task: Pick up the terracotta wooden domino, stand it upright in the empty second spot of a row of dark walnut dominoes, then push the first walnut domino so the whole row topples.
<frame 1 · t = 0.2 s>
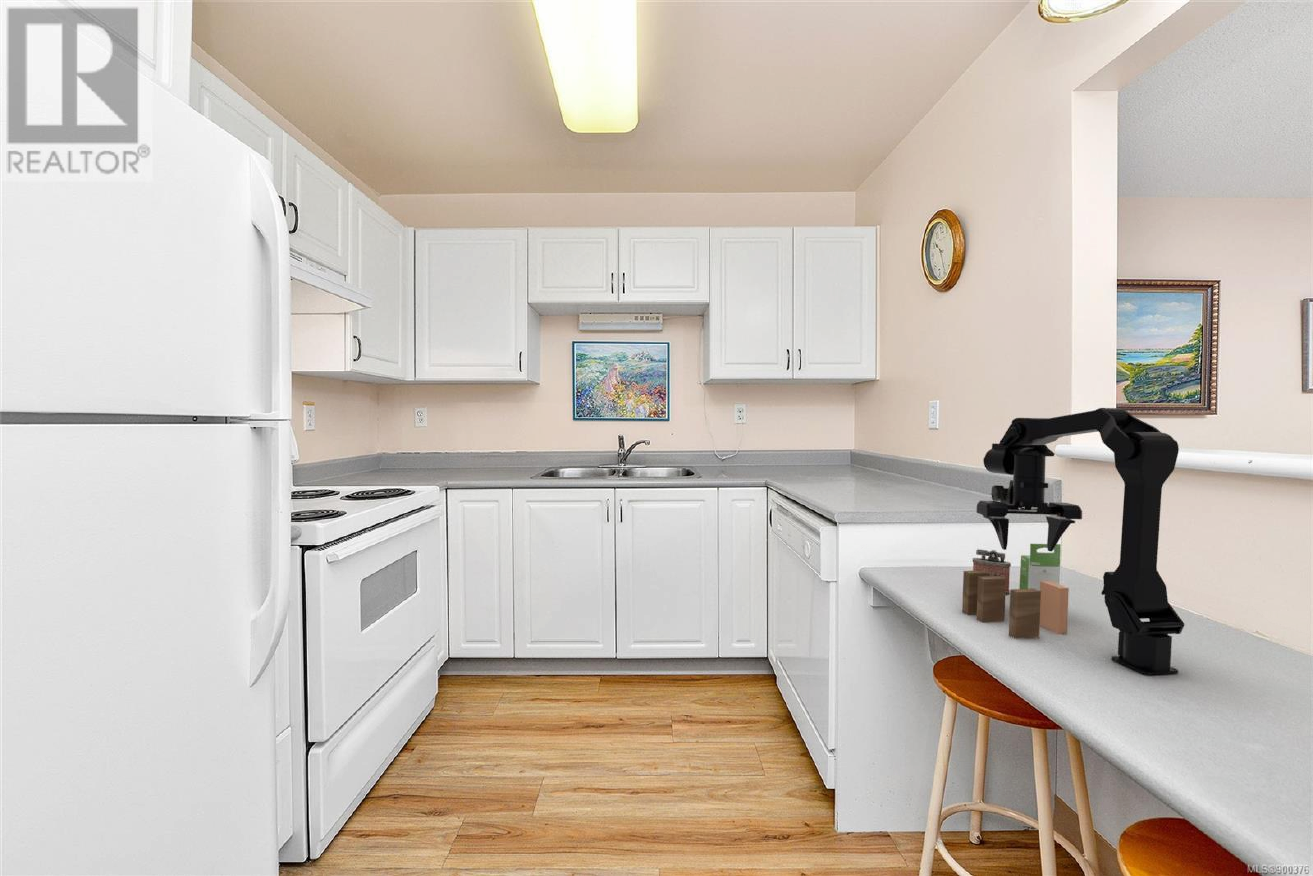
hand: (1026, 550, 126), 14 cm above the counter, tool pointing down, fingers open, 9 cm apart
domino 2: (1052, 629, 118), on the counter
ink box: (1038, 600, 138), on the counter
lighter: (990, 592, 144), on the counter
domino 3: (990, 620, 123), on the counter
domino 1: (1023, 636, 114), on the counter
domino 4: (975, 613, 127), on the counter
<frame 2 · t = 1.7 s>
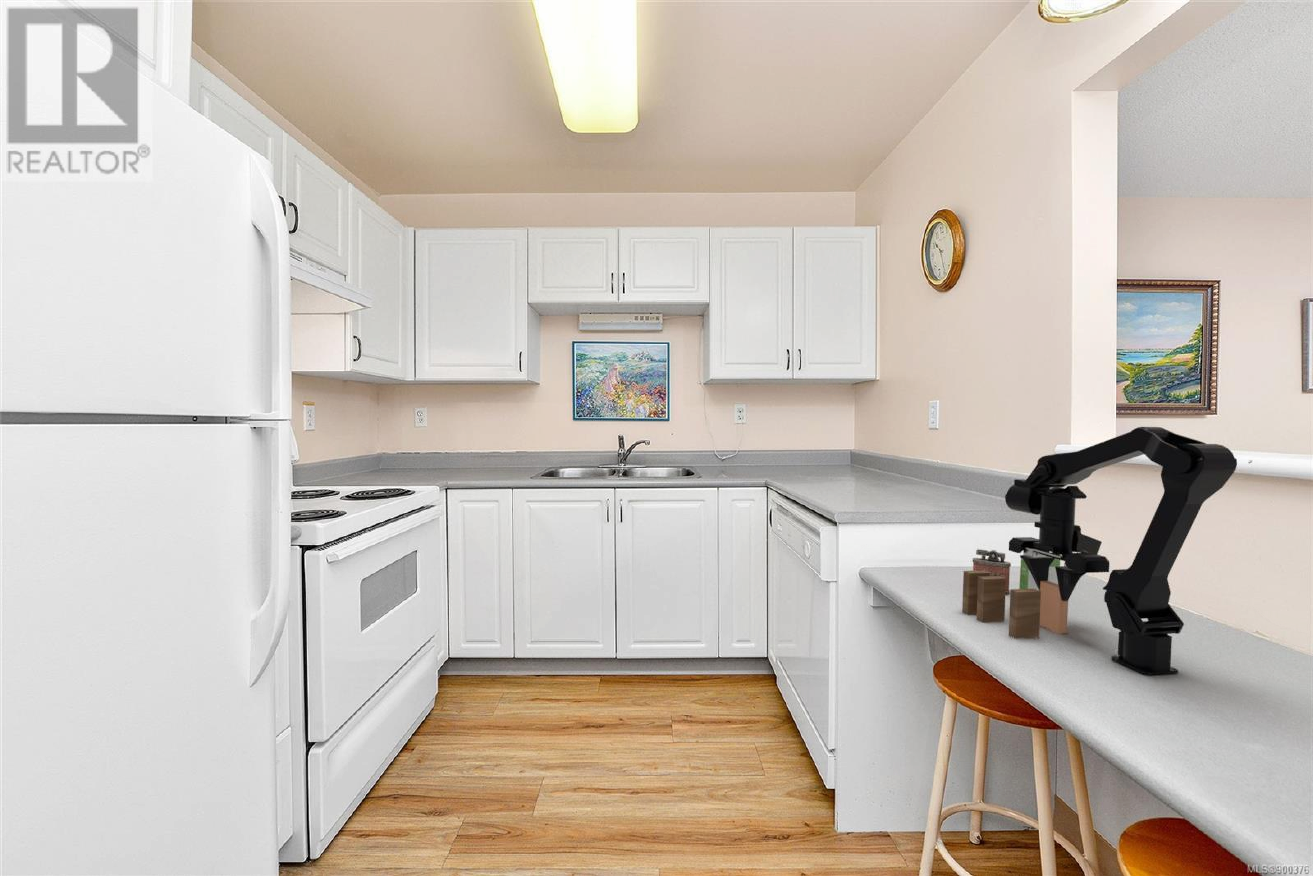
hand: (1053, 596, 118), 7 cm above the counter, tool pointing down, fingers closed on domino 2, 5 cm apart
domino 2: (1052, 629, 118), on the counter, touching gripper
everything else where it was.
when the fingers open (8 cm above the counter, at t = 6.2 s): domino 2 stays where it is, on the counter.
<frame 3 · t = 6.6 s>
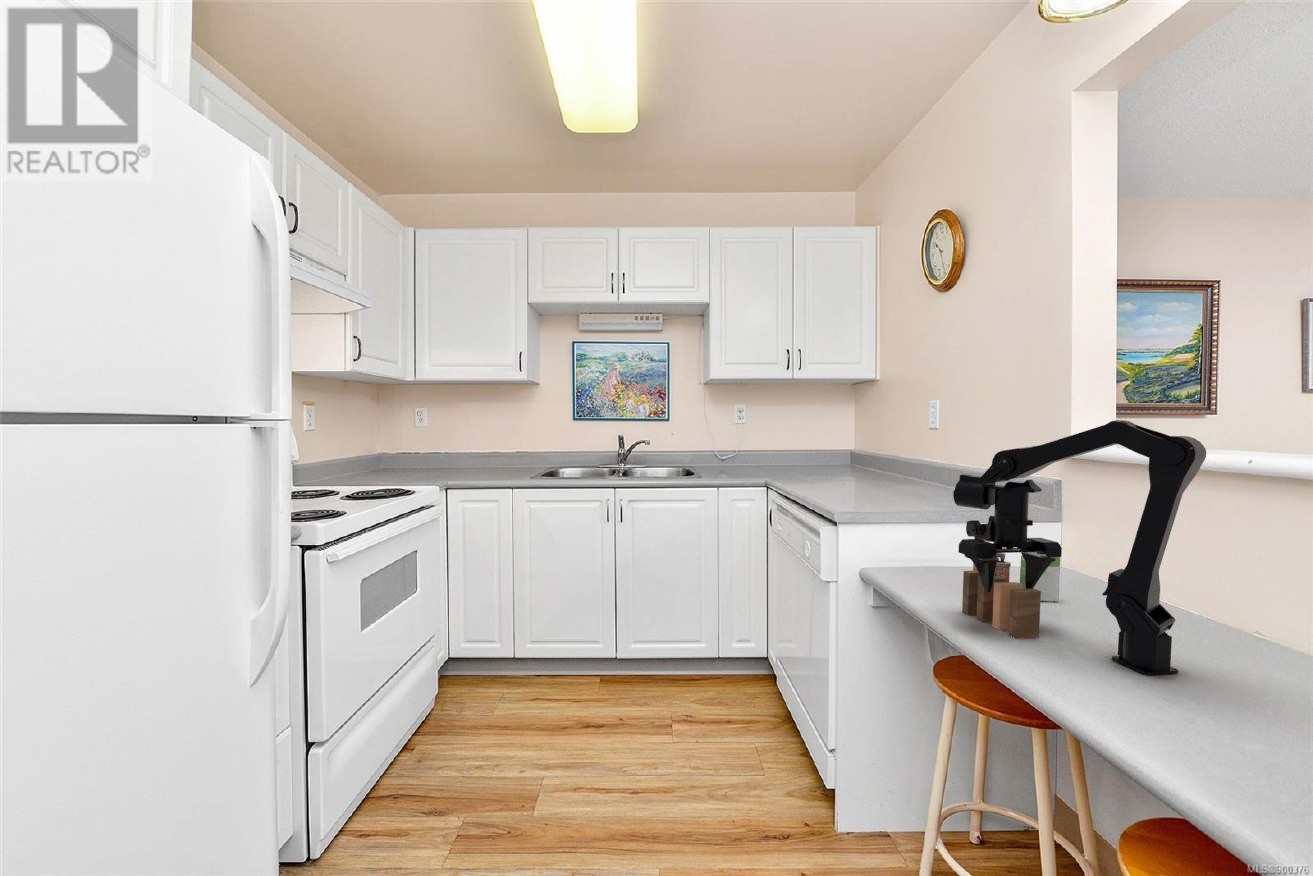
hand: (1008, 591, 118), 8 cm above the counter, tool pointing down, fingers open, 9 cm apart
domino 2: (1006, 628, 118), on the counter
everything else where it was.
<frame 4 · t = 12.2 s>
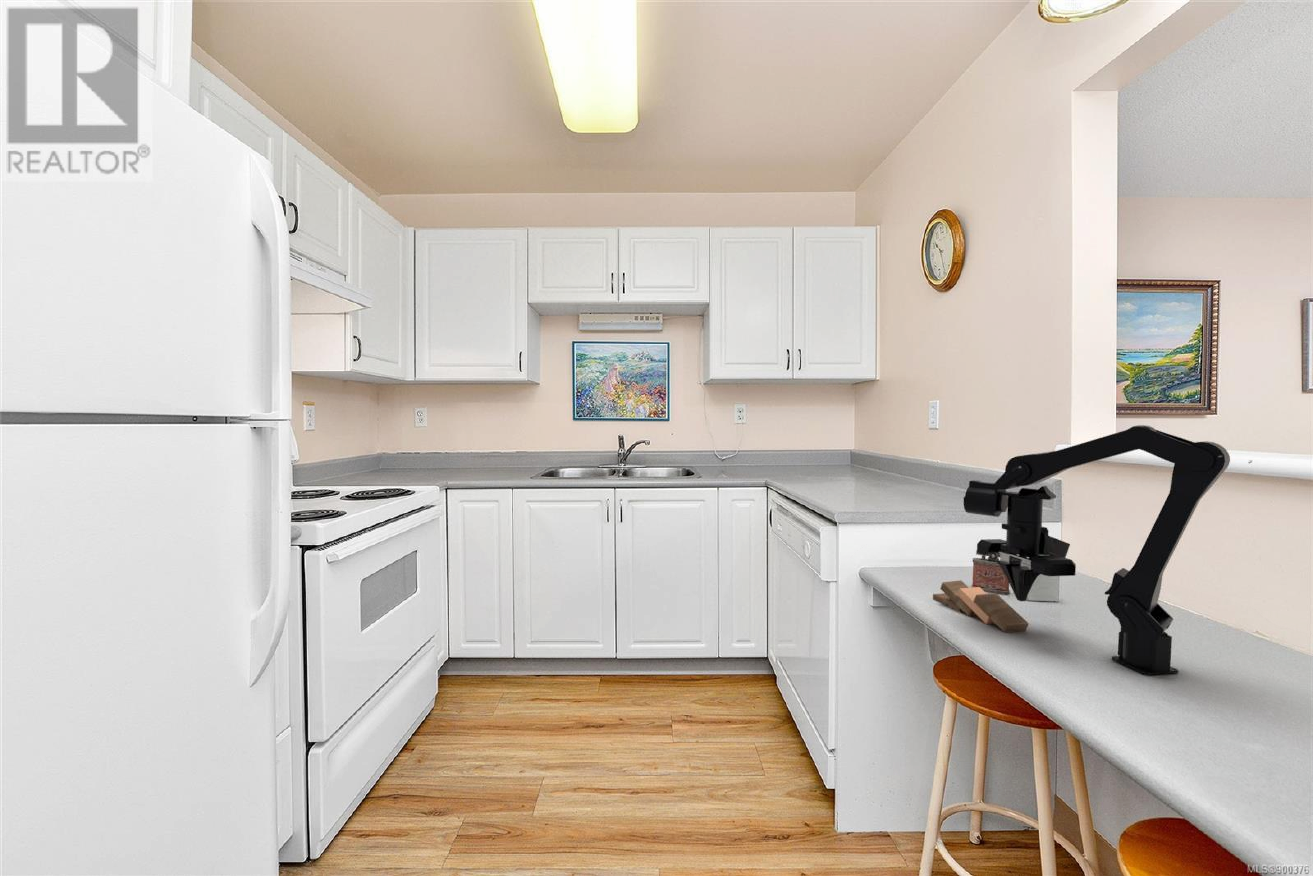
hand: (1021, 600, 115), 7 cm above the counter, tool pointing down, fingers closed
domino 2: (997, 619, 121), point 1 cm above the counter, tilted 67°, touching domino 3
domino 3: (979, 611, 126), point 1 cm above the counter, tilted 68°, touching domino 2
domino 1: (1016, 627, 116), point 1 cm above the counter, tilted 67°
domino 4: (970, 609, 129), on the counter, tilted 90°
everything else where it was.
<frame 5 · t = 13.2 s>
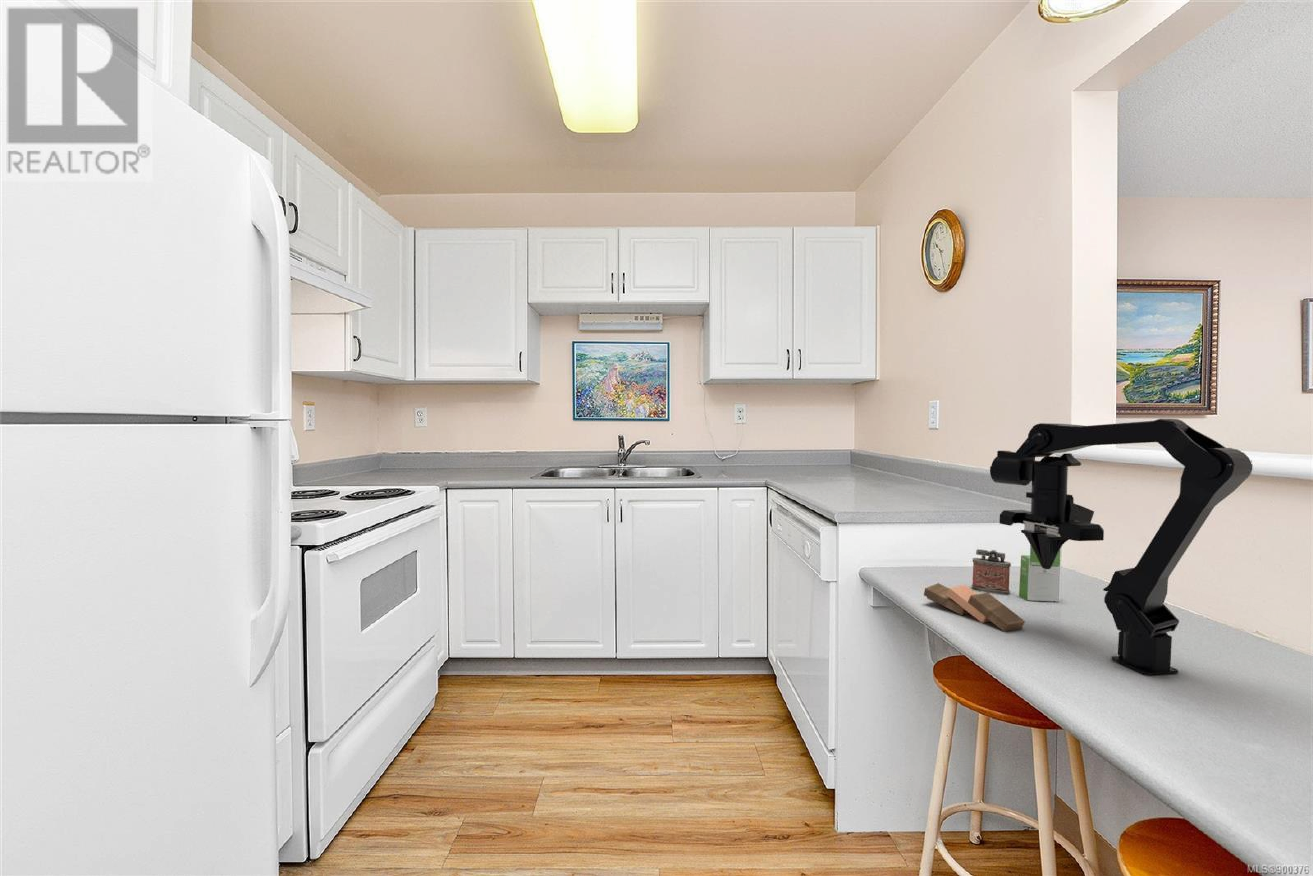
hand: (1046, 568, 115), 13 cm above the counter, tool pointing down, fingers closed
domino 2: (991, 617, 122), point 1 cm above the counter, tilted 67°, touching domino 1, domino 3
domino 3: (969, 608, 127), point 1 cm above the counter, tilted 77°, touching domino 2, domino 4
domino 1: (1014, 626, 117), point 1 cm above the counter, tilted 68°, touching domino 2
domino 4: (964, 609, 130), on the counter, tilted 90°, touching domino 3
everything else where it was.
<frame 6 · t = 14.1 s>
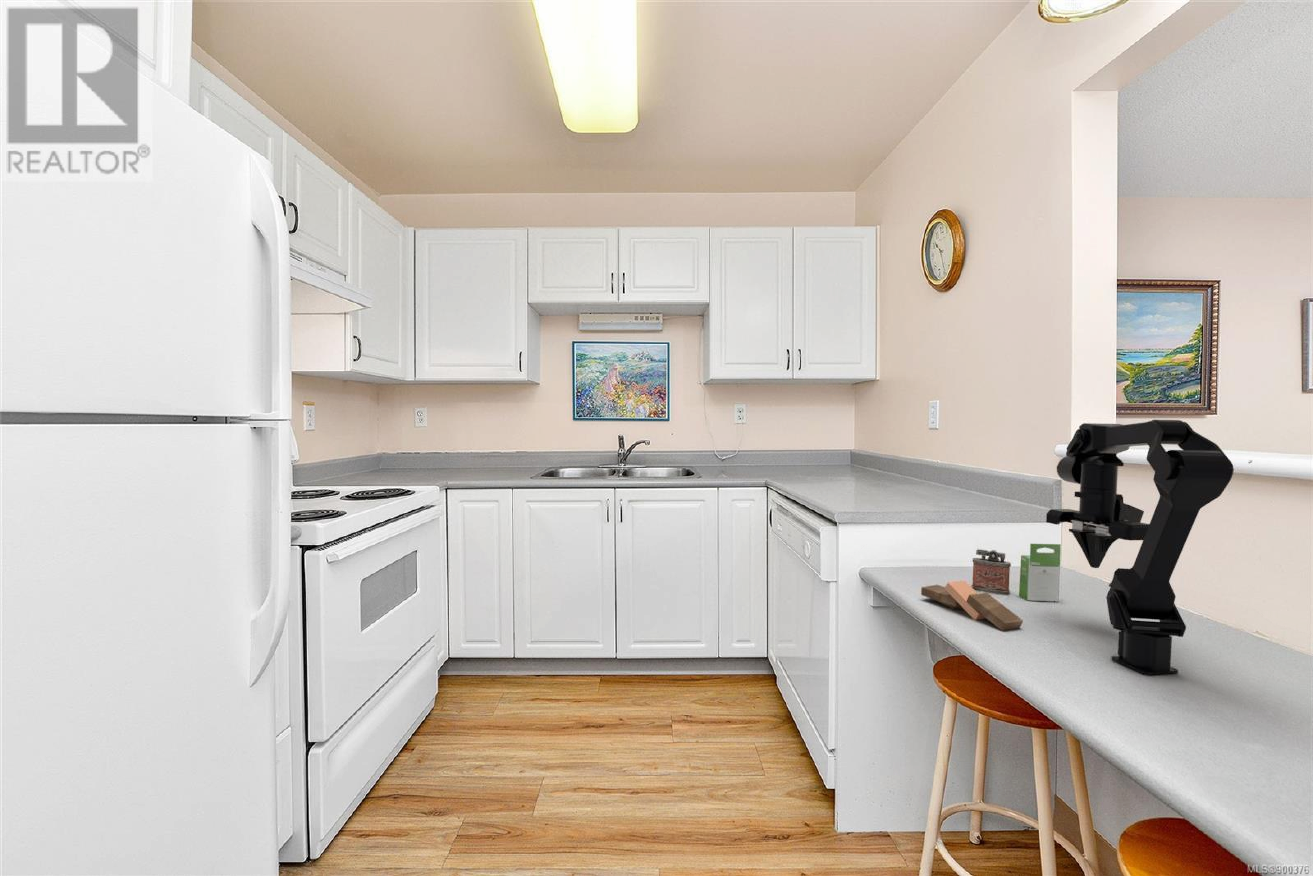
hand: (1094, 567, 116), 13 cm above the counter, tool pointing down, fingers closed
domino 2: (985, 615, 123), point 1 cm above the counter, tilted 60°, touching domino 1, domino 3
domino 3: (963, 601, 129), point 2 cm above the counter, tilted 90°, touching domino 2, domino 4
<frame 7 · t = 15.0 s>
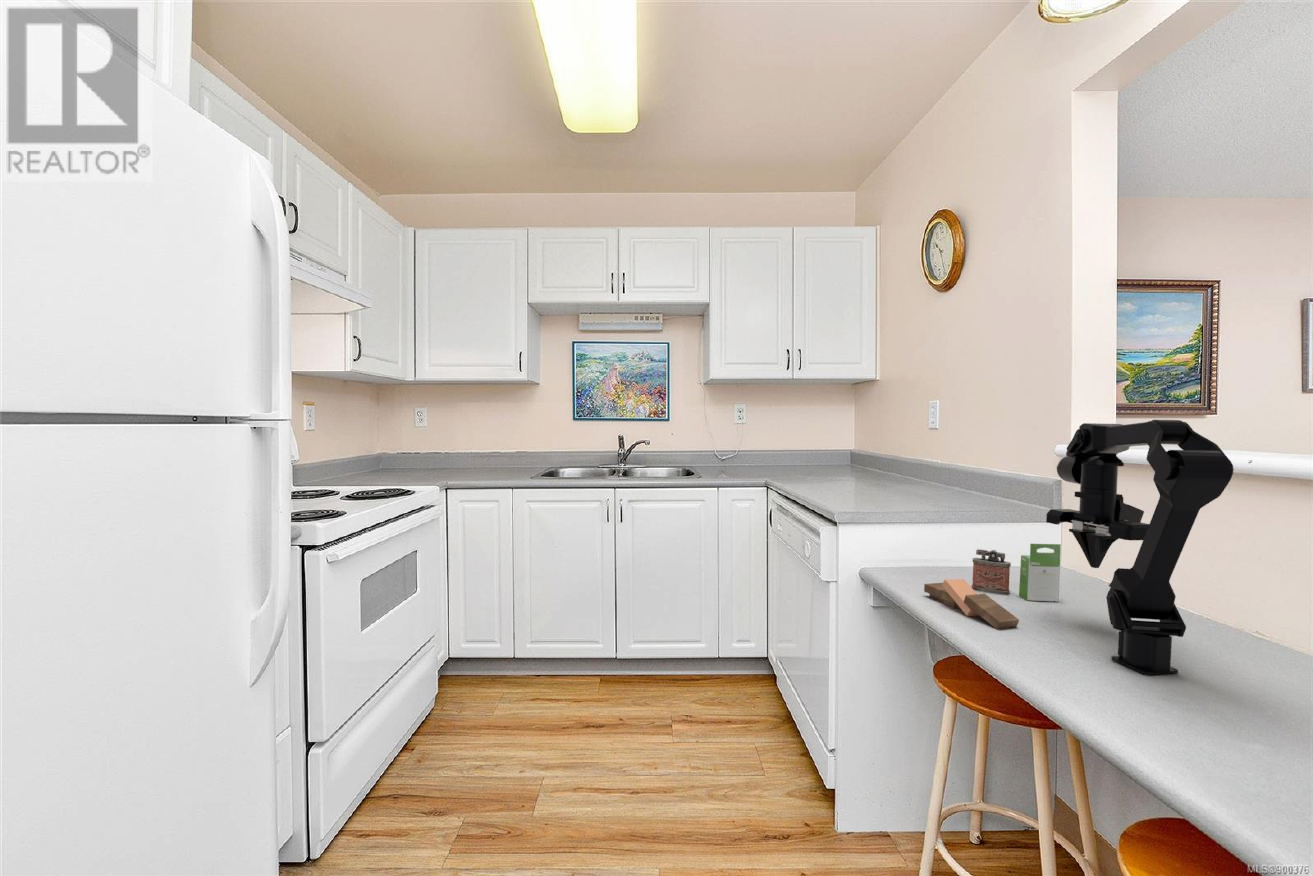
hand: (1094, 567, 116), 13 cm above the counter, tool pointing down, fingers closed
domino 2: (978, 612, 125), point 1 cm above the counter, tilted 62°, touching domino 1
domino 3: (963, 598, 131), point 2 cm above the counter, tilted 90°, touching domino 4
at the end: domino 2 tilted 61°; domino 4 tilted 90° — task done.
